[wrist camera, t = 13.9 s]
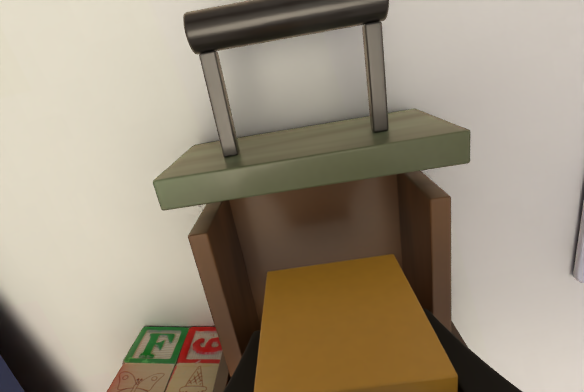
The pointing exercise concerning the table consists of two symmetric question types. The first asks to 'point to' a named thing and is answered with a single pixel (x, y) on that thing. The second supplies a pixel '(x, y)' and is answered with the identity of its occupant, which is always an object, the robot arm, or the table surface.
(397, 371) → the block
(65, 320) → the table surface
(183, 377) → the stack of blocks
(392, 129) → the drawer
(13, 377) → the navy folded towel
